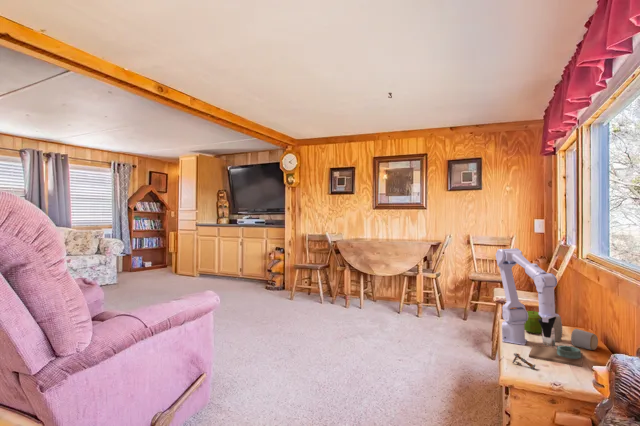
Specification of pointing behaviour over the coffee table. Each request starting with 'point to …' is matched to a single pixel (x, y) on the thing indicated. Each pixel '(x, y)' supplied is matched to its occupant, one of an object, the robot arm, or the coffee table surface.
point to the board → (558, 354)
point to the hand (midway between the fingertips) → (548, 335)
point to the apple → (533, 323)
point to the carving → (558, 328)
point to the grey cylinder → (584, 339)
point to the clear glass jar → (549, 339)
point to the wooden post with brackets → (522, 361)
